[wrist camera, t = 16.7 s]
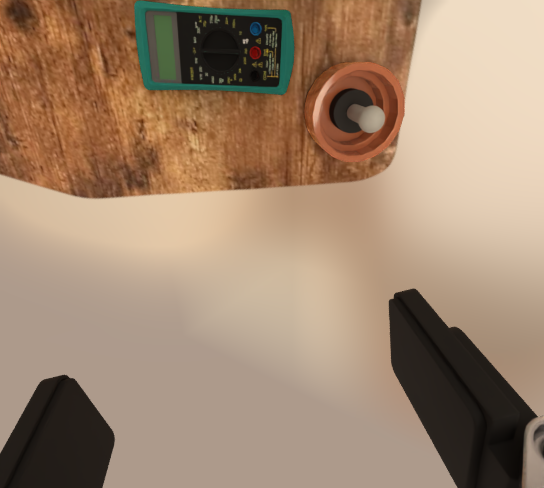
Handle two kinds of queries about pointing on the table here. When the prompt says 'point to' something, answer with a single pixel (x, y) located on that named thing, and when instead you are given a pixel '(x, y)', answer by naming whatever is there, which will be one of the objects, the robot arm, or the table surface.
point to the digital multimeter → (214, 48)
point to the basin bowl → (383, 95)
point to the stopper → (355, 112)
